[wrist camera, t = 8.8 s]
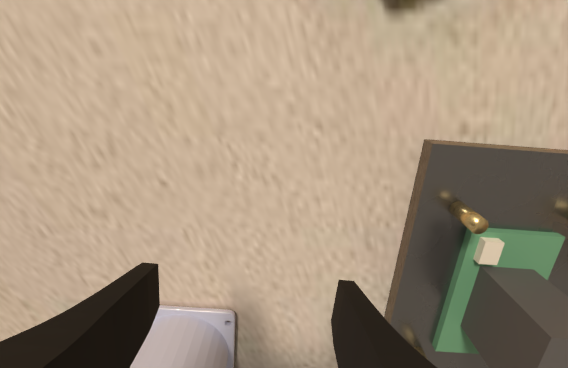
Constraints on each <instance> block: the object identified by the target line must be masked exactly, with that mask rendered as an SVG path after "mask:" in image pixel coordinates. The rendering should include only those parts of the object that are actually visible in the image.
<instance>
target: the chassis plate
mask: <svg viewBox="0 0 568 368" xmlns="http://www.w3.org/2000/svg"><path fill="white" fill-rule="evenodd" d="M467 228H468V229H469V230H470V231H471V232H473V233H474V234H482V233H484V232H485V231H486V230H487V229H488V228H497V229H511V230H525V231H540V232H554V233H559V234H561V235H562V236H564V237H565V240H564V242H563V244H562V247H561V249H560V251H559V254H558V256H557V259H556V261H555V263H554V266H553V268H552V270H551V273H550V275H549V277H548V280H547V281H549V282H550V283H551V284H552V285H554V286H555V287H556V288H557V289H559V290H560V291H561V292H562V293H564V294H565V295H566V296H567V297H568V150H558V149H545V148H531V147H518V146H505V145H492V144H479V143H465V142H452V141H439V140H426V139H425V140H424V144H423V148H422V153H421V157H420V162H419V166H418V170H417V175H416V179H415V184H414V188H413V193H412V197H411V201H410V206H409V210H408V215H407V219H406V223H405V228H404V232H403V237H402V241H401V246H400V250H399V254H398V259H397V263H396V268H395V272H394V276H393V281H392V285H391V290H390V294H389V299H388V303H387V307H386V312H385V316H384V318H385V319H386V320H387V321H388V323H389V324H390V325H391V326H392V327H393V328H394V329H395V330H396V331H397V332H398V333H399V334H400V335H401V336H402V337H403V338H404V339H405V340H406V341H407V342H408V343H409V344H410V345H411V346H412V347H414V348H415V349H416V350H417V351H418V352H419V353H420V354H421V355H423V356H424V357H425V358H426V359H427V360H428V361H430V362H431V363H432V364H433V365H435V366H436V367H437V368H489V367H488V365H487V364H486V362H485V361H484V359H483V358H482V357H481V355H480V354H472V353H456V352H440V351H435V349H434V348H433V346H432V343H433V340H434V336H435V333H436V330H437V326H438V323H439V320H440V316H441V313H442V310H443V306H444V303H445V300H446V296H447V293H448V290H449V286H450V283H451V280H452V276H453V273H454V270H455V266H456V263H457V260H458V256H459V253H460V250H461V246H462V243H463V240H464V236H465V233H466V230H467Z"/></svg>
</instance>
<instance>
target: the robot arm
mask: <svg viewBox="0 0 568 368" xmlns="http://www.w3.org/2000/svg"><path fill="white" fill-rule="evenodd" d="M227 321H230V322H227ZM331 324H332V335H333V344H334V350H335V354H336V359H337V364H338V368H437V367H436V366H435V365H433V364H432V363H431V362H430V361H428V360H427V359H426V358H425V357H424V356H423V355H421V354H420V353H419V352H418V351H417V350H416V349H415V348H414V347H412V346H411V345H410V344H409V343H408V342H407V341H406V340H405V339H404V338H403V337H402V336H401V335H400V334H399V333H398V332H397V331H396V330H395V329H394V328H393V327H392V326H391V325H390V324H389V323H388V321H387V320H386V319H385V318H384V317H383V316H382V315H381V314H380V312H379V311H378V310H377V309H376V308H375V307H374V305H373V304H372V303H371V302H370V300H369V299H368V298H367V297H366V296H365V294H364V293H363V292H362V291H361V289H360V288H359V287H358V286H357V284H356V283H355V282H354V281H346V280H339V282H338V287H337V292H336V298H335V303H334V308H333V313H332V319H331ZM234 348H235V313H234V311H232V310H227V309H212V308H196V307H180V306H165V305H160V304H159V277H158V264H152V263H141V264H139V265H138V266H136V267H135V268H133V269H132V270H130V271H129V272H127V273H126V274H124V275H123V276H121V277H120V278H118V279H117V280H115V281H114V282H112V283H111V284H109V285H108V286H106V287H105V288H103V289H102V290H100V291H99V292H97V293H95V294H94V295H92V296H90V297H89V298H87V299H85V300H84V301H82V302H80V303H79V304H77V305H75V306H74V307H72V308H70V309H68V310H67V311H65V312H63V313H61V314H59V315H57V316H55V317H53V318H51V319H49V320H47V321H45V322H43V323H41V324H39V325H37V326H35V327H33V328H31V329H28V330H26V331H24V332H21V333H19V334H17V335H15V336H12V337H10V338H8V339H6V340H3V341H1V342H0V368H234Z"/></svg>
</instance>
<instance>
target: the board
mask: <svg viewBox="0 0 568 368" xmlns="http://www.w3.org/2000/svg"><path fill="white" fill-rule="evenodd" d="M564 240H565V237H564V236H562V235H561V234H559V233H554V232H540V231H525V230H511V229H497V228H488V229H487V230H486V231H485V232H484V233H482V234H474V233H473V232H471V231H470V230H469V229H468V228H467V230H466V233H465V236H464V240H463V243H462V246H461V250H460V253H459V256H458V260H457V263H456V266H455V270H454V273H453V276H452V280H451V283H450V286H449V290H448V293H447V296H446V300H445V303H444V306H443V310H442V313H441V316H440V320H439V323H438V326H437V330H436V333H435V336H434V340H433V343H432V346H433V348H434V349H435V351H440V352H456V353H472V354H480V355H481V357H482V358H483V359H484V361H485V362H486V364H487V365H488V367H489V368H568V297H567V296H566V295H565V294H564V293H562V292H561V291H560V290H559V289H557V288H556V287H555V286H554V285H552V284H551V283H550V282H549V281H547V280H548V277H549V275H550V273H551V270H552V268H553V266H554V263H555V261H556V259H557V256H558V254H559V251H560V249H561V247H562V244H563V242H564Z"/></svg>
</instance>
